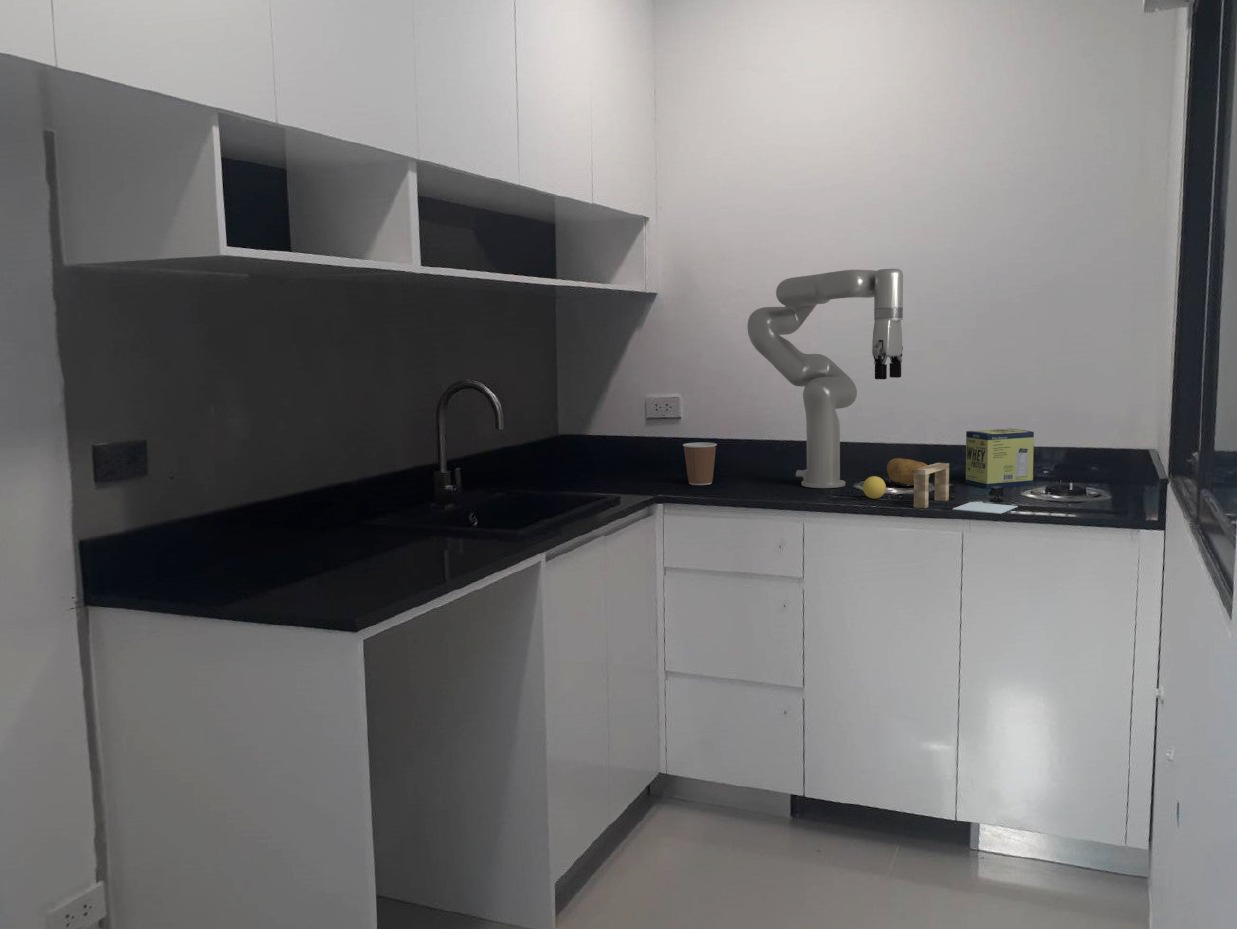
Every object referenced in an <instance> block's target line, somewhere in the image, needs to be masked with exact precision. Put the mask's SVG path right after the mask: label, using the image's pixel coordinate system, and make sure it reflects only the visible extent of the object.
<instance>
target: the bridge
mask: <svg viewBox="0 0 1237 929" xmlns="http://www.w3.org/2000/svg"><path fill="white" fill-rule="evenodd" d="M933 473H934V501H940V502H941V501H943V502H947V501H949V499H950V498H949V497H950V496H949V494H950V493H949V492H950V463H949V462H947V463H945V462H935V463H933V464H929V465H928V464H927V466H924V467H921V468H917V469H914V487H913V508H920V509H927V508H929V485H930V484H929V479H930V477H929V474H930V475H931V474H933Z"/></svg>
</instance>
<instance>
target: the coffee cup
mask: <svg viewBox="0 0 1237 929" xmlns="http://www.w3.org/2000/svg"><path fill="white" fill-rule="evenodd" d="M682 446H683V447H684V448H683V451H684V457H685V458H684V459H685V465H686V474H687V480H688V483H689V484H690V485H692V486H707V485H711V484H712V482H713V480H714V479H713V478H714V473H715V472H714V469H715V461H716V460H715V458H716V450H717V448H716V446H718V444H717V443H715V442H688V443H683V444H682Z"/></svg>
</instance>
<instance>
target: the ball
mask: <svg viewBox="0 0 1237 929" xmlns="http://www.w3.org/2000/svg"><path fill="white" fill-rule="evenodd" d="M886 488H887V485H886V483H885V480H883V479H882V478H881V477H879V476H875V475H873V476H869V477H868V478H866V479H865V480H864V482H863V484H862V491H863V493H864V494H865V496H866V497H868V498H869V499H873V500H876V499H879V498H881V497H883V495H884V494H885V493H886Z"/></svg>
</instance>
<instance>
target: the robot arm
mask: <svg viewBox="0 0 1237 929" xmlns="http://www.w3.org/2000/svg"><path fill="white" fill-rule="evenodd" d="M775 295H776V296H775V297H776V299H777V300H778V302H779V303H780V304H782V305H783V306H764V307H760V308H757V309H755V310H754V311H752V312H751V314H750V315H749V317H748V320H747V326H746V327H747V335H748V338H749V340H750V342H751V344H752V346H753V347H754V348H755V350H757V352H758V353H759V354H760V355H762V356H763V357H764V359H766V360H767V361H768V363H770V364H771V365H772V366H773V367H774V368H775V369H776V370H777V371H778V373H780V374H781V376H783V377H784V378H785V379H786V380H787V381H788V382H789V383H790V384H792V385H793V386H795V387H802V388H803V387H804V388H803V391H802V399H803V405H804V406H803V407H804V411H805V420H806V425H805V426H806V427H805V428H806V432H805V433H806V469H803V470H802V469H801V470H800V469H797V470H796V472H795V477H796V478H803V480H802V481H801V486H802V487H805V488H812V489H835V488H842V487H845V486H846V481H845V480H842V479H841V461H840V460H841V448H840V447H841V440H840V439H841V435H840V434H841V432H840V431H841V426H840V419H839V416H838V412H837V409H838V410H839V409H845V408H848V407H850V406H852V404H854V403H855V401H856V400H857V396H858V390H857V386H856V383H854V381H853V379H852V378H851V377H850V376H849V375H848V374H847V373H846V372H845V371H844V370H843V369H842V368H840V366H838V365H837V364H836V363H835V362H834V361H833V360H832V359H830V358H829V357H828V356H826V355H823V354H821V353H804V352H802V351H800V350H799V349H798V348H797V347H796V346H795V345H794V344H793V343H792V342H790V340H788V339H786V338H785V337H783V335H785V336H787V335H792V334H793V333H795V332H796V331H798V330H799V329H800V328H801V326H802V325H803V324H804V322H805V321H806V320H807V318H808V317H809V316H810V314H811V313H812V312H813V311H814V309H815V308H816V306H817V305H824V304H827V303H829V302H830V301H831V300H836V299H847V298H848V299H849V298H850V299H851V298H853V299H854V298H862V299H863V298H865V299H867V298H868V299H869V298H874V300H873V301H874V302H873V303H874V304H873V306H874V307H873V308H874V309H873V311H874V312H873V316H874V321H873V322H874V324H873V331H872V344H871V355H872V357H873V360H874V361H873V364H874V379H875V380H887V377H888V376H887V375H888V370H887V369H888V368H887V367H888V364H886V362H887V359H888V358H889V360H890V362H889V378H890V379H891V378H893V379H895V378H896V379H897V378H902V362H903V359H902V357H903V350H904V347H903V328H902V321H903V320H904V319H903V318H904V314H903V313H904V308H903V307H904V274H903V270H901V269H900V268H883V269H878V270H873V269H846V270H837V271H836V270H835V271H829V272H824V273H818V274H817V273H816V274H811V275H802V276H794V277H789V278H785V279H784V280H782V281H781V282H780V283H779V284H778V285H777V287H776V289H775Z"/></svg>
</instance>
